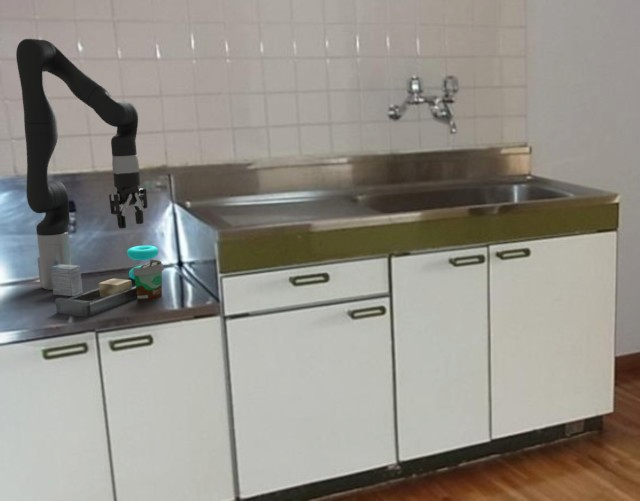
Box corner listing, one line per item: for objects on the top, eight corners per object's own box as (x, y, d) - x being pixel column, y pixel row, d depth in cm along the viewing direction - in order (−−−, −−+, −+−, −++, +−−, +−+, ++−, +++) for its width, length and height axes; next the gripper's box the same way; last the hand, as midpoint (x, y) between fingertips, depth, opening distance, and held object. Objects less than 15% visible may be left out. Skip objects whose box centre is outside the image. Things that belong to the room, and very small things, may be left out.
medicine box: (83, 293, 225) (80, 265, 223) (72, 297, 221) (69, 268, 219) (63, 291, 228) (60, 263, 226) (52, 294, 224) (49, 267, 222)
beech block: (100, 296, 216) (98, 283, 215) (113, 291, 221) (112, 278, 221) (118, 298, 213) (117, 285, 212) (132, 293, 218) (131, 280, 217)
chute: (56, 313, 204) (55, 299, 203) (115, 291, 225) (114, 279, 224) (87, 317, 199) (85, 302, 198) (144, 294, 220) (143, 281, 219)
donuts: (153, 243, 247) (161, 248, 238) (155, 272, 249) (164, 278, 240) (123, 247, 242) (131, 252, 234) (125, 276, 244) (133, 282, 236)
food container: (155, 303, 211) (152, 268, 209) (135, 302, 212) (132, 268, 210) (172, 291, 223) (170, 259, 221) (153, 291, 224) (150, 259, 222)
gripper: (132, 168, 226) (137, 221, 229) (99, 173, 213) (104, 229, 217) (151, 168, 222) (156, 222, 226) (119, 173, 210) (124, 230, 213)
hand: (131, 225), depth 221 cm, fingers open, 7 cm apart
